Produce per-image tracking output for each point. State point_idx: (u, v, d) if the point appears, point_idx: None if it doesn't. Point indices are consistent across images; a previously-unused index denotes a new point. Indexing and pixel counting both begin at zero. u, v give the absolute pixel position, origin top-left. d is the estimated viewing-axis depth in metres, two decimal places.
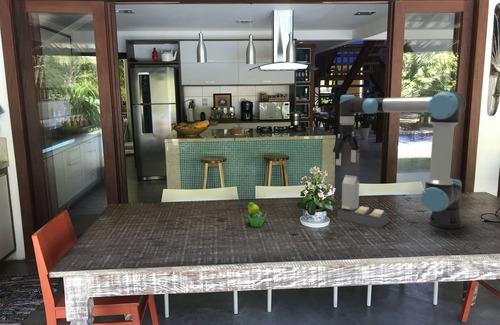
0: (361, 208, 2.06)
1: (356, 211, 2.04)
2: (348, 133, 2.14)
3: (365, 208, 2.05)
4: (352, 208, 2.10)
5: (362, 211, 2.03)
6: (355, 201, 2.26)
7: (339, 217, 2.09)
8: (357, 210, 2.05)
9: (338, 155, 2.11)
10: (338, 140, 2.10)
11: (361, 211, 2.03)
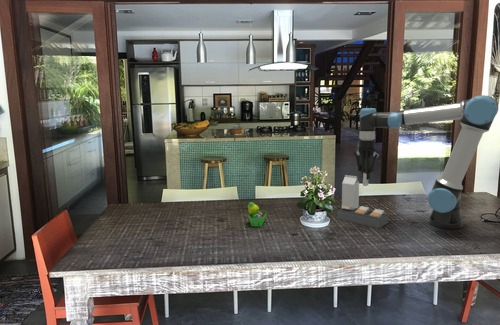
0: (361, 208, 2.06)
1: (356, 211, 2.04)
2: (365, 149, 2.01)
3: (365, 208, 2.05)
4: (352, 208, 2.10)
5: (362, 211, 2.03)
6: (355, 201, 2.26)
7: (339, 217, 2.09)
8: (357, 210, 2.05)
9: (362, 175, 2.05)
10: None
11: (361, 211, 2.03)
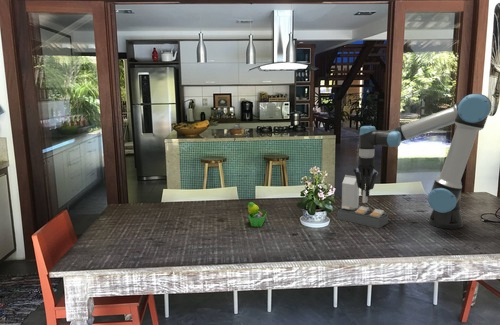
0: (361, 208, 2.06)
1: (356, 211, 2.04)
2: (365, 166, 2.03)
3: (365, 208, 2.05)
4: (352, 208, 2.10)
5: (362, 211, 2.03)
6: (355, 201, 2.26)
7: (339, 217, 2.09)
8: (357, 210, 2.05)
9: (362, 191, 2.06)
10: None
11: (361, 211, 2.03)
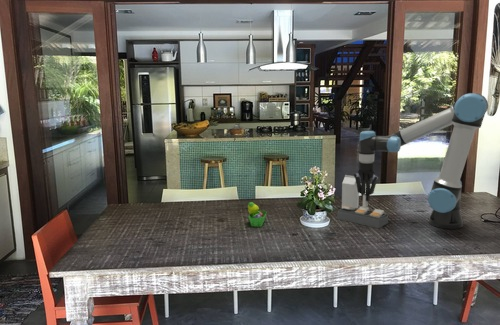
0: (361, 208, 2.06)
1: (356, 211, 2.04)
2: (365, 171, 2.03)
3: (365, 208, 2.05)
4: (352, 208, 2.10)
5: (362, 211, 2.03)
6: (355, 201, 2.26)
7: (339, 217, 2.09)
8: (357, 210, 2.05)
9: (362, 196, 2.07)
10: None
11: (361, 211, 2.03)
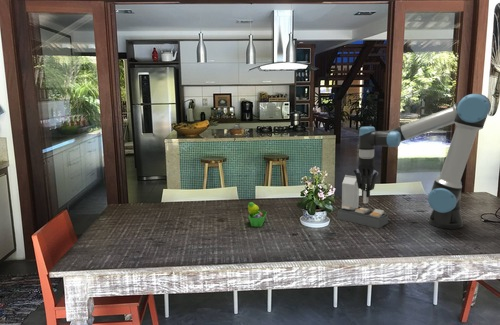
0: (361, 208, 2.07)
1: (356, 209, 2.04)
2: (365, 167, 2.03)
3: (365, 209, 2.06)
4: (352, 208, 2.10)
5: (362, 210, 2.03)
6: (355, 201, 2.26)
7: (339, 217, 2.09)
8: (357, 209, 2.05)
9: (362, 192, 2.06)
10: None
11: (361, 210, 2.03)
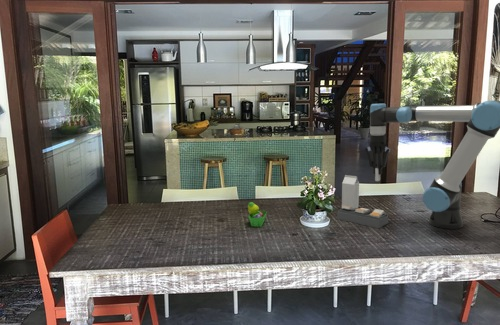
0: (361, 208, 2.07)
1: (356, 209, 2.04)
2: (377, 144, 2.02)
3: (365, 209, 2.06)
4: (352, 208, 2.10)
5: (362, 210, 2.03)
6: (355, 201, 2.26)
7: (339, 217, 2.09)
8: (357, 209, 2.05)
9: (374, 170, 2.05)
10: None
11: (361, 209, 2.03)
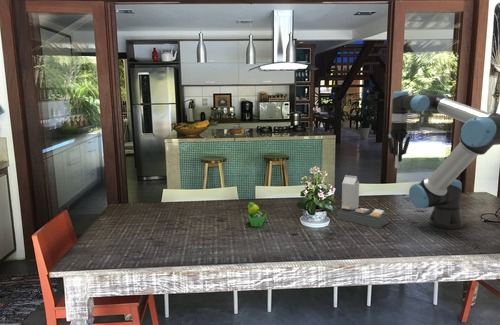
0: (361, 208, 2.07)
1: (356, 209, 2.04)
2: (398, 131, 2.04)
3: (365, 209, 2.06)
4: (352, 208, 2.10)
5: (362, 209, 2.03)
6: (355, 201, 2.26)
7: (339, 217, 2.09)
8: None
9: (394, 157, 2.08)
10: None
11: (361, 209, 2.03)
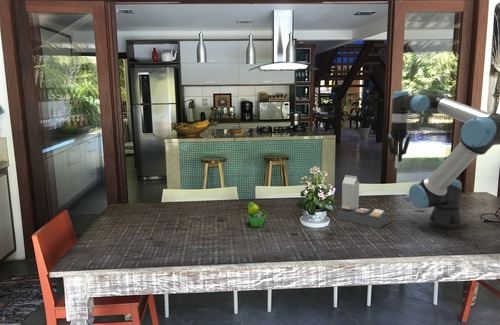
0: (361, 208, 2.07)
1: (357, 209, 2.04)
2: (398, 131, 2.04)
3: (365, 209, 2.06)
4: (352, 208, 2.10)
5: (362, 209, 2.03)
6: (355, 201, 2.26)
7: (339, 217, 2.09)
8: None
9: (394, 157, 2.08)
10: None
11: (361, 209, 2.03)
